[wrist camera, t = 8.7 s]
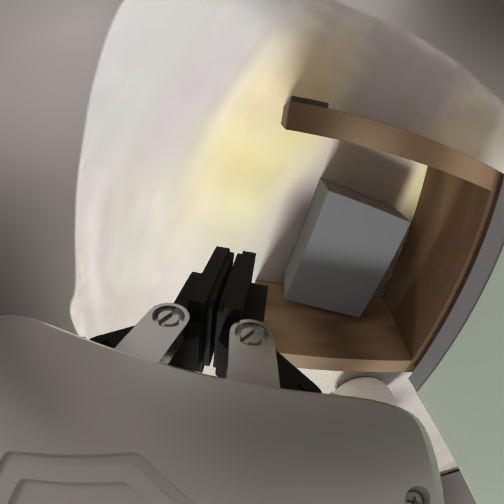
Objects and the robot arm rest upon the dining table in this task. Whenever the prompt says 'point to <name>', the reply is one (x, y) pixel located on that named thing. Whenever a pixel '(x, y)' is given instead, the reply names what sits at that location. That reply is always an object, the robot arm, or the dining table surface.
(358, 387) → the teacup
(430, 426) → the dining table surface
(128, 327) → the robot arm
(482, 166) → the wooden u-shaped stand
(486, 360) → the cover
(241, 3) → the dining table surface
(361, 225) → the slate cuboid
